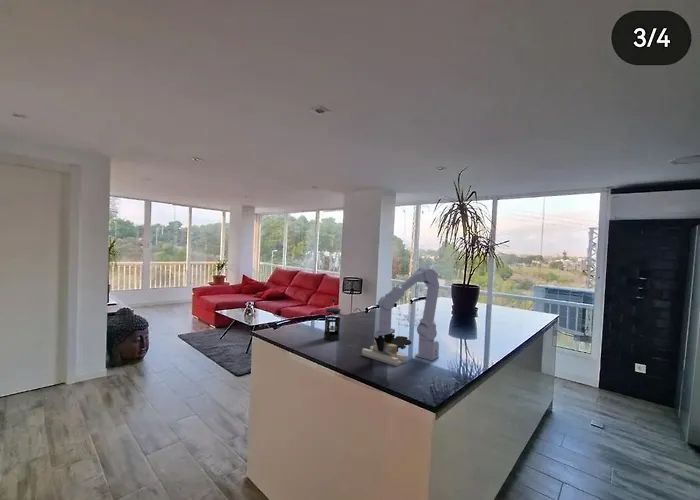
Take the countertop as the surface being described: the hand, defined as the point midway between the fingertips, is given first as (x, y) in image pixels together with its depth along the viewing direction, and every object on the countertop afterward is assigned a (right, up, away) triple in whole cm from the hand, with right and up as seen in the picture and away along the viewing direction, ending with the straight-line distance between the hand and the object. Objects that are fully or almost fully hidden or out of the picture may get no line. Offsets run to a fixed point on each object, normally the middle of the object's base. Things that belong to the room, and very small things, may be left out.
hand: (383, 350), depth 156 cm
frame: (0, -3, 0) cm, 3 cm away
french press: (-27, -3, +30) cm, 41 cm away
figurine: (+9, -5, +27) cm, 29 cm away
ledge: (0, -4, 0) cm, 4 cm away
